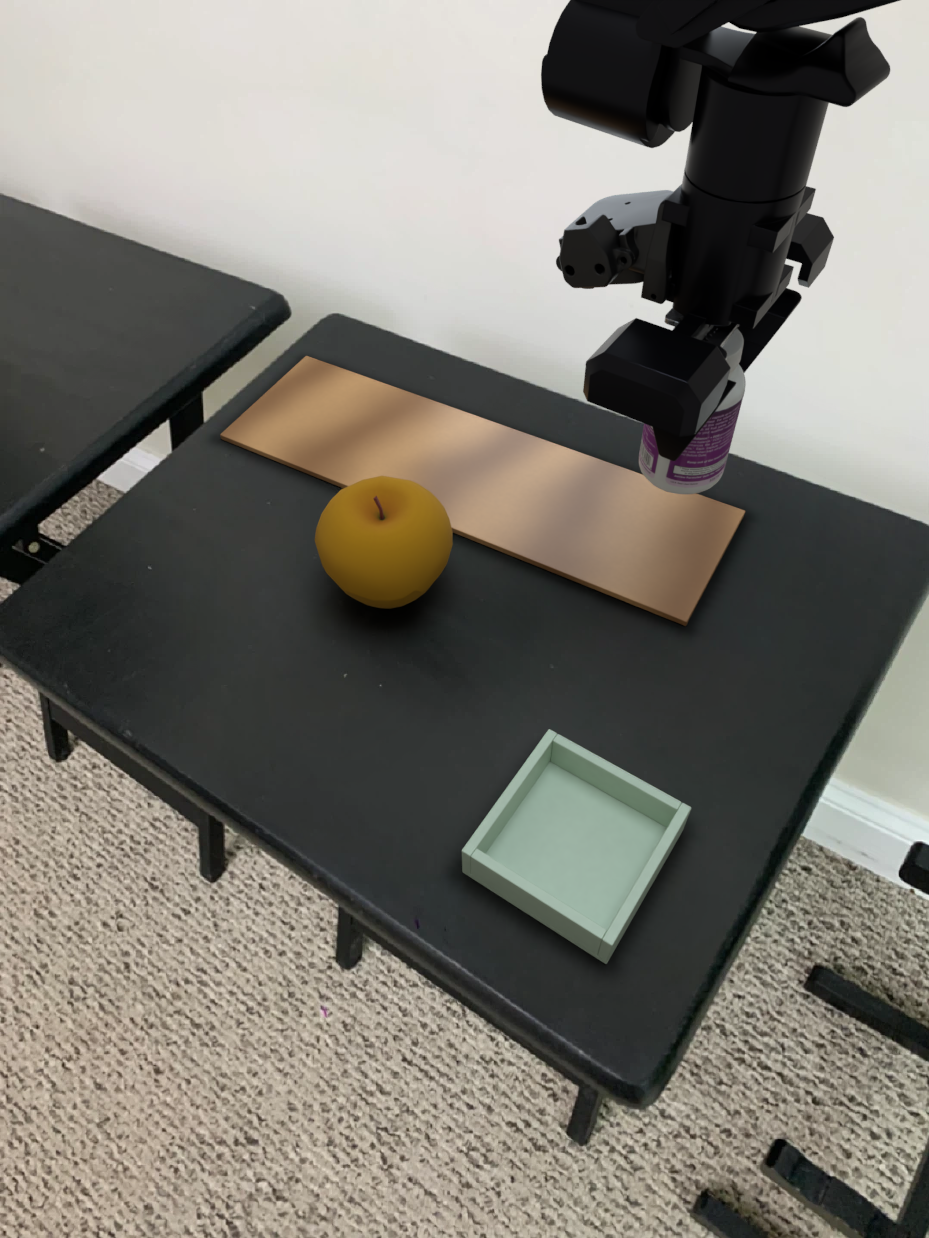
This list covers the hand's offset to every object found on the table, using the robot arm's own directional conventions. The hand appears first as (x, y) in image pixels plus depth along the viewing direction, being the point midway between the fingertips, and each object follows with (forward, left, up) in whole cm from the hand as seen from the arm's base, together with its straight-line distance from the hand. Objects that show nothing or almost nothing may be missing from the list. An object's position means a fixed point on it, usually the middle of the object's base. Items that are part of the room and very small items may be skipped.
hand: (688, 430), depth 56 cm
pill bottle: (0, 0, -3) cm, 3 cm away
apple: (+11, +16, -13) cm, 23 cm away
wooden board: (+16, +4, -13) cm, 21 cm away
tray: (-12, +19, -13) cm, 26 cm away
